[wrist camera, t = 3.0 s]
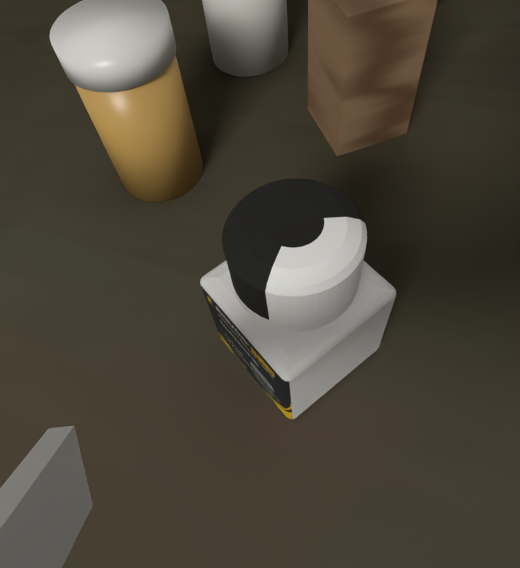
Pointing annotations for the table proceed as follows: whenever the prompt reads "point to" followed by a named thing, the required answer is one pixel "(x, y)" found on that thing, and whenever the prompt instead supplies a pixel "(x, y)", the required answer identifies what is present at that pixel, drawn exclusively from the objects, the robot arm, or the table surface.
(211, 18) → the white tub
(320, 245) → the medicine bottle
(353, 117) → the walnut block
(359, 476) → the table surface
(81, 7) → the amber jar
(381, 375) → the table surface
